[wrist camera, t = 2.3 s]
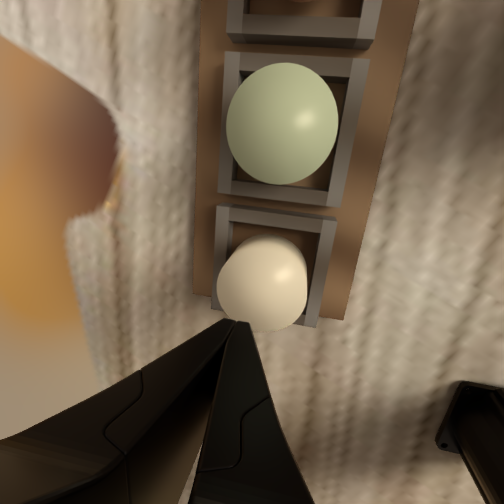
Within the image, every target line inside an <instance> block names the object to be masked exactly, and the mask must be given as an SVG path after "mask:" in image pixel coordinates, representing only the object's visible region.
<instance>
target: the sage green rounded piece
mask: <svg viewBox="0 0 504 504" xmlns="http://www.w3.org/2000/svg"><path fill="white" fill-rule="evenodd" d="M337 130H338V112H337V106H336V102H335V99H334V97H333V94H332V92H331V90H330V89H329V87H328V85H327V84H326V83H325V82H324V80H323V79H322V78H321V77H320V76H319V75H318V74H316V73H315V72H313V71H312V70H310V69H308V68H306V67H304V66H302V65H298V64H294V63H276V64H271V65H268V66H265V67H263V68H261V69H259V70H257V71H256V72H254V73H253V74H251V75H250V76H249V77H248V78H247V79H246V80H245V81H244V82H243V83H242V84H241V85H240V87H239V88H238V89H237V91H236V92H235V94H234V96H233V98H232V100H231V103H230V106H229V109H228V114H227V121H226V133H227V140H228V144H229V147H230V150H231V152H232V154H233V156H234V158H235V160H236V161H237V163H238V164H239V165H240V166H241V168H242V169H243V170H244V171H245V172H247V173H248V174H249V175H251V176H252V177H254V178H255V179H257V180H260V181H262V182H265V183H269V184H278V185H282V184H290V183H294V182H297V181H300V180H302V179H304V178H306V177H308V176H309V175H311V174H312V173H313V172H315V171H316V170H317V169H318V168H319V167H320V166H321V165H322V164H323V162H324V161H325V160H326V158H327V157H328V155H329V154H330V152H331V150H332V148H333V145H334V142H335V139H336V135H337Z"/></svg>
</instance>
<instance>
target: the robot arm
mask: <svg viewBox="0 0 504 504" xmlns="http://www.w3.org/2000/svg"><path fill="white" fill-rule="evenodd" d="M468 388H469V389H468ZM466 389H468V390H466ZM202 442H203V443H202ZM435 442H436V444H437V446H438V448H439V449H441V450H444V451H449V452H453V453H458V454H460V455H461V457H462V459H463V461H464V463H465V465H466V467H467V469H468V471H469V472H470V474H471V476H472V478H473V480H474V482H475V484H476V486H477V488H478V490H479V492H480V494H481V496H482V498H483V500H484V501H485V503H486V504H504V388H498V387H493V386H488V385H483V384H478V383H473V382H462V383H461V384H460V385H459V386H458V388H457V391H456V393H455V395H454V398H453V400H452V402H451V404H450V407H449V409H448V411H447V414H446V416H445V418H444V420H443V423H442V425H441V427H440V430H439V432H438V434H437V436H436V439H435ZM201 445H202V448H201V452H200V456H199V461H198V465H197V469H196V476H195V478H194V482H193V486H192V490H191V494H190V497H189V501H188V504H315V503H314V501H313V498H312V496H311V494H310V492H309V489H308V487H307V485H306V483H305V481H304V478H303V476H302V474H301V472H300V470H299V467H298V465H297V463H296V461H295V458H294V456H293V454H292V452H291V450H290V447H289V445H288V443H287V440H286V438H285V435H284V433H283V430H282V428H281V425H280V422H279V419H278V416H277V413H276V410H275V407H274V403H273V400H272V398H271V394H270V390H269V387H268V383H267V380H266V376H265V373H264V369H263V366H262V362H261V359H260V356H259V352H258V349H257V345H256V342H255V338H254V335H253V331H252V328H251V325H250V323H249V322H245V321H237V322H236V320H233V319H227V318H223V319H221V320H220V321H218V322H217V323H215V324H213V325H212V326H210V327H208V328H207V329H205V330H203V331H202V332H200V333H199V334H197V335H195V336H194V337H192V338H190V339H189V340H187V341H185V342H184V343H182V344H180V345H179V346H177V347H176V348H174V349H172V350H171V351H169V352H167V353H166V354H164V355H162V356H161V357H159V358H157V359H156V360H154V361H153V362H151V363H149V364H148V365H146V366H144V367H143V368H141V370H138V371H136V372H134V373H133V374H131V375H129V376H128V377H126V378H124V379H123V380H121V381H119V382H117V383H116V384H114V385H112V386H110V387H109V388H107V389H105V390H103V391H101V392H99V393H97V394H95V395H94V396H92V397H90V398H88V399H86V400H84V401H82V402H80V403H78V404H76V405H74V406H72V407H70V408H68V409H66V410H64V411H62V412H60V413H58V414H56V415H54V416H52V417H50V418H48V419H46V420H44V421H42V422H40V423H38V424H36V425H34V426H32V427H30V428H28V429H26V430H24V431H22V432H20V433H18V434H15V435H13V436H10V437H8V438H5V439H2V440H0V504H178V501H179V499H180V496H181V494H182V491H183V489H184V486H185V484H186V482H187V479H188V477H189V474H190V472H191V469H192V467H193V464H194V462H195V459H196V457H197V454H198V452H199V449H200V447H201Z"/></svg>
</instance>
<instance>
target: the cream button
mask: <svg viewBox="0 0 504 504" xmlns="http://www.w3.org/2000/svg"><path fill="white" fill-rule="evenodd" d="M217 296H218V300H219V302H220V305H221V307H222V308H223V310H224V311H225V313H226V314H227V315H228V316H229V317H230V318H231V319H233V320H236V322H237V321H245V322H249V323H250V325H251V328H252V330H253V331H257V332H274V331H278V330H281V329H284V328H286V327H288V326H289V325H291V324H292V323H294V322H295V321H296V320H297V319H298V318H299V316H300V315H301V313H302V312H303V310H304V307H305V305H306V301H307V267H306V262H305V259H304V257H303V255H302V253H301V252H300V250H299V249H298V248H297V247H296V246H295V245H294V244H293V243H292V242H290V241H289V240H287V239H285V238H283V237H281V236H278V235H273V234H260V235H256V236H252V237H250V238H248V239H246V240H245V241H243V242H242V243H241V244H240V245H239V246H238V247H237V249H236V250H235V251H234V253H233V254H232V255H231V257H230V258H229V259H228V261H227V262H226V263H225V265H224V266H223V268H222V269H221V271H220V273H219V276H218V279H217Z"/></svg>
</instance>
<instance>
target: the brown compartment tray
mask: <svg viewBox="0 0 504 504" xmlns="http://www.w3.org/2000/svg"><path fill="white" fill-rule="evenodd" d="M418 4H419V0H315V1H310V2H294V1H291V0H201V18H200V53H199V88H198V123H197V158H196V193H195V228H194V263H193V294H197V295H203V296H208V297H212V302H211V309H215V310H220V311H224V310H223V308H222V307H221V305H220V302H219V300H218V296H217V279H218V276H219V273H220V271H221V269H222V268H223V266H224V265H225V263H226V262H227V261H228V259H229V258H230V257H231V255H232V254H233V253H234V251H235V250H236V249H237V247H238V246H239V245H240V244H241V243H242V242H243V241H245V240H246V239H248V238H250V237H252V236H256V235H260V234H273V235H278V236H281V237H283V238H285V239H287V240H289V241H290V242H292V243H293V244H294V245H295V246H296V247H297V248H298V249H299V250H300V252H301V253H302V255H303V257H304V259H305V262H306V267H307V301H306V305H305V307H304V310H303V312H302V313H301V315H300V316H299V318H298V319H297V320H296V321H295V322H294V323H292V324H297V325H302V326H308V327H313V328H316V325H317V321H318V316H321V317H326V318H332V319H338V320H343V319H344V315H345V311H346V307H347V302H348V298H349V294H350V290H351V286H352V281H353V277H354V273H355V269H356V265H357V260H358V256H359V252H360V248H361V244H362V239H363V235H364V231H365V227H366V223H367V218H368V214H369V210H370V206H371V202H372V197H373V193H374V189H375V185H376V181H377V176H378V172H379V168H380V164H381V160H382V155H383V151H384V147H385V143H386V139H387V134H388V130H389V126H390V122H391V118H392V113H393V109H394V105H395V101H396V97H397V92H398V88H399V84H400V80H401V76H402V71H403V67H404V63H405V59H406V55H407V50H408V46H409V42H410V38H411V34H412V29H413V25H414V21H415V17H416V13H417V8H418ZM276 63H294V64H298V65H302V66H304V67H306V68H308V69H310V70H312V71H313V72H315V73H316V74H318V75H319V76H320V77H321V78H322V79H323V80H324V82H325V83H326V84H327V85H328V87H329V89H330V90H331V92H332V94H333V97H334V99H335V102H336V106H337V112H338V130H337V135H336V139H335V142H334V145H333V148H332V150H331V152H330V154H329V155H328V157H327V158H326V160H325V161H324V162H323V164H322V165H321V166H320V167H319V168H318V169H317V170H316V171H315V172H313V173H312V174H311V175H309V176H308V177H306V178H304V179H302V180H300V181H297V182H294V183H290V184H282V185H278V184H269V183H265V182H262V181H260V180H257V179H255V178H254V177H252V176H251V175H249V174H248V173H247V172H245V171H244V170H243V169H242V168H241V166H240V165H239V164H238V163H237V161H236V160H235V158H234V156H233V154H232V152H231V150H230V147H229V144H228V140H227V133H226V121H227V114H228V109H229V106H230V103H231V100H232V98H233V96H234V94H235V92H236V91H237V89H238V88H239V87H240V85H241V84H242V83H243V82H244V81H245V80H246V79H247V78H248V77H249V76H250V75H251V74H253V73H254V72H256V71H257V70H259V69H261V68H263V67H265V66H268V65H271V64H276Z"/></svg>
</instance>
